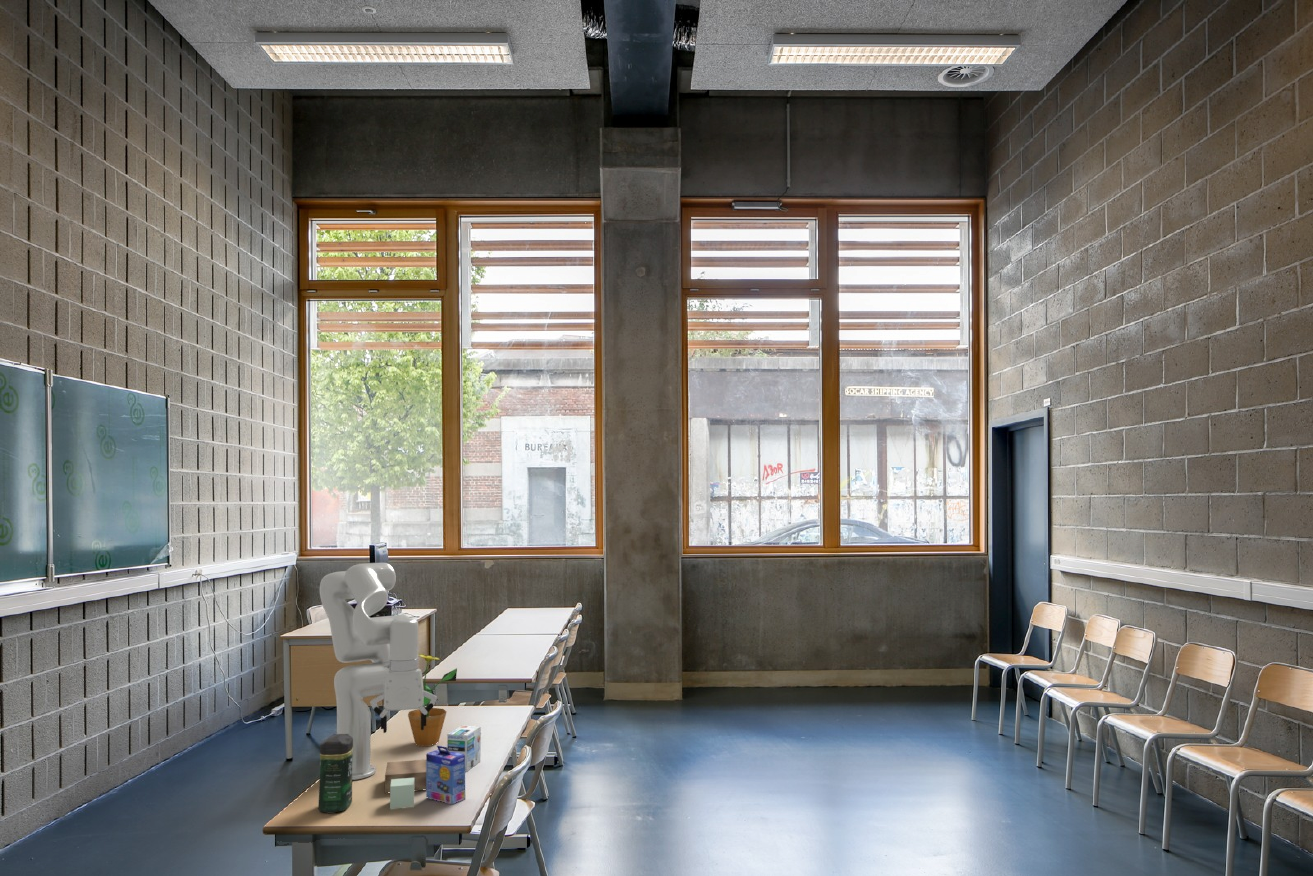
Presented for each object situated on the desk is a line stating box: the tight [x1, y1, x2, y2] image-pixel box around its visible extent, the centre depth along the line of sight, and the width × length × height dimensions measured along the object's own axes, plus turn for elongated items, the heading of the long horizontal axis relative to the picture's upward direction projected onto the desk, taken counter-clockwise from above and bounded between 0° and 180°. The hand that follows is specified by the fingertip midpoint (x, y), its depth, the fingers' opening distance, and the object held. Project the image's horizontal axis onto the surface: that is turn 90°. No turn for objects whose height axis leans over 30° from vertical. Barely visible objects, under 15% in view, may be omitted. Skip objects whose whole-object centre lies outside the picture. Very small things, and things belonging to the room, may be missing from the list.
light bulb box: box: [446, 725, 482, 772], centre depth 274 cm, size 11×7×11 cm, turn 168°
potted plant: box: [407, 653, 458, 747], centre depth 299 cm, size 18×19×30 cm
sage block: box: [389, 778, 415, 810], centre depth 241 cm, size 6×6×6 cm
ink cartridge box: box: [425, 745, 466, 805], centre depth 245 cm, size 10×6×14 cm, turn 60°
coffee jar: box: [317, 733, 353, 814], centre depth 239 cm, size 10×8×19 cm
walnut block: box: [384, 759, 426, 794], centre depth 257 cm, size 12×12×5 cm
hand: (403, 730), depth 241 cm, fingers open, 9 cm apart
